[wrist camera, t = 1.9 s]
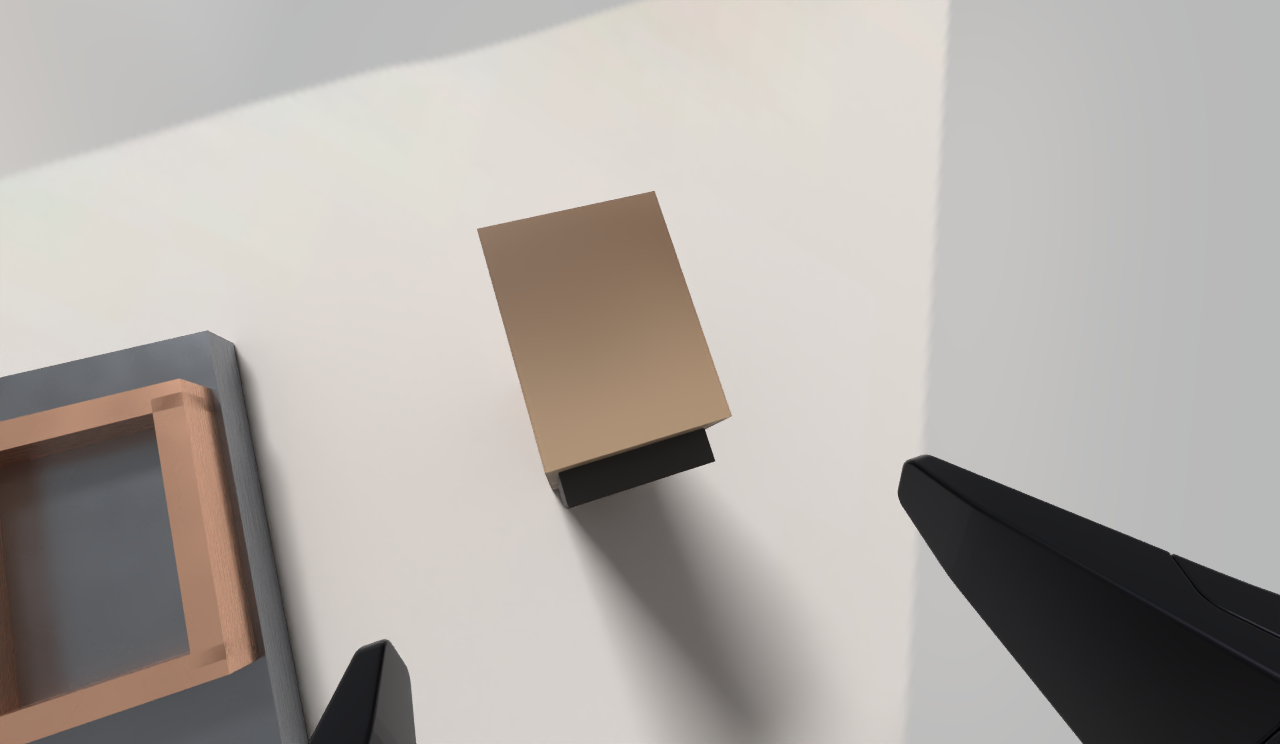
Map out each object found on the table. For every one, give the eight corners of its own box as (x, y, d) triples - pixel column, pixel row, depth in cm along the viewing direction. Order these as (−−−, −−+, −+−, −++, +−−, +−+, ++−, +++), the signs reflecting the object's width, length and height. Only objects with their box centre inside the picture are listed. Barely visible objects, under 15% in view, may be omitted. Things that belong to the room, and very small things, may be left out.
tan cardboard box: (638, 481, 20) (744, 452, 9) (556, 507, 20) (556, 513, 8) (601, 361, 21) (654, 191, 10) (522, 383, 21) (476, 228, 9)
